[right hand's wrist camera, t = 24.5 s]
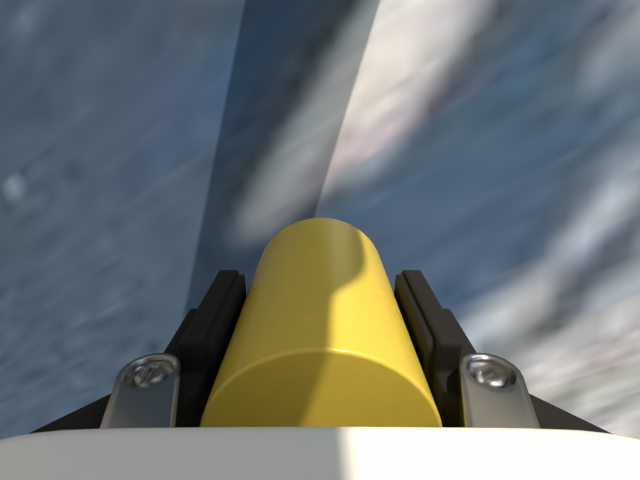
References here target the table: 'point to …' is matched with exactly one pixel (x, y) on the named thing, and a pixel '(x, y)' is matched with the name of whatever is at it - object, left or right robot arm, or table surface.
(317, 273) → the cylinder
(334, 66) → the table surface
